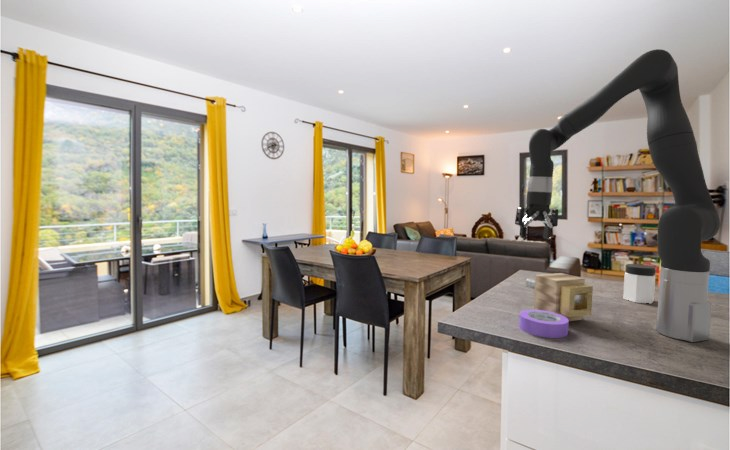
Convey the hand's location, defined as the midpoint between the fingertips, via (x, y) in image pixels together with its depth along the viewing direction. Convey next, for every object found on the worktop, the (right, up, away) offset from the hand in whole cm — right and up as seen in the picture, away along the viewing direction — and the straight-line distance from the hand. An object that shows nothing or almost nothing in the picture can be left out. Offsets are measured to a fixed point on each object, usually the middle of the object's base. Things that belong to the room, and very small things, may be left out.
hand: (534, 238), depth 120 cm
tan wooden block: (-1, -23, -16) cm, 28 cm away
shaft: (-2, -16, -14) cm, 22 cm away
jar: (+37, -22, +2) cm, 43 cm away
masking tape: (-10, -24, -26) cm, 37 cm away
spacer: (+1, -20, -22) cm, 30 cm away
